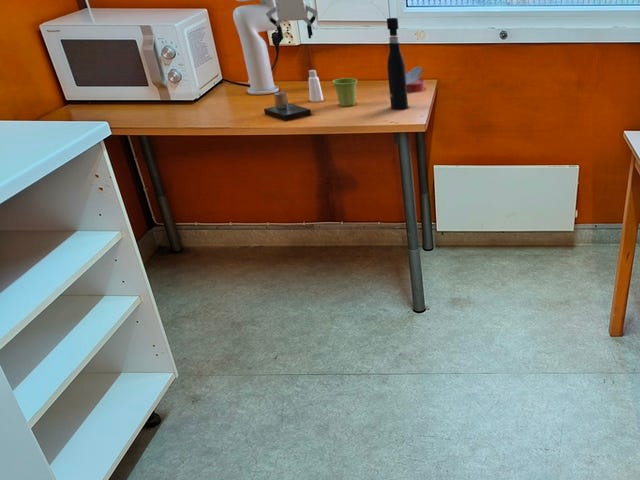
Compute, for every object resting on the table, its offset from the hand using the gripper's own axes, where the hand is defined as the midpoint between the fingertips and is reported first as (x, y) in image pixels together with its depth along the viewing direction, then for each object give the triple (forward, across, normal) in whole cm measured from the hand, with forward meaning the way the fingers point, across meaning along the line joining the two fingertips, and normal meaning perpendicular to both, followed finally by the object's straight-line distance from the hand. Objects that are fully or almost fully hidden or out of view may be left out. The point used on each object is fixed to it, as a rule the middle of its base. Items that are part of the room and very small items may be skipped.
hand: (296, 38), depth 224 cm
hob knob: (+23, +9, +1) cm, 24 cm away
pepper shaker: (+25, -3, -16) cm, 30 cm away
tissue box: (+25, -41, -26) cm, 55 cm away
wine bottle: (+25, -34, +3) cm, 42 cm away
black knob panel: (+25, +7, +3) cm, 26 cm away
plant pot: (+25, -15, -7) cm, 30 cm away
